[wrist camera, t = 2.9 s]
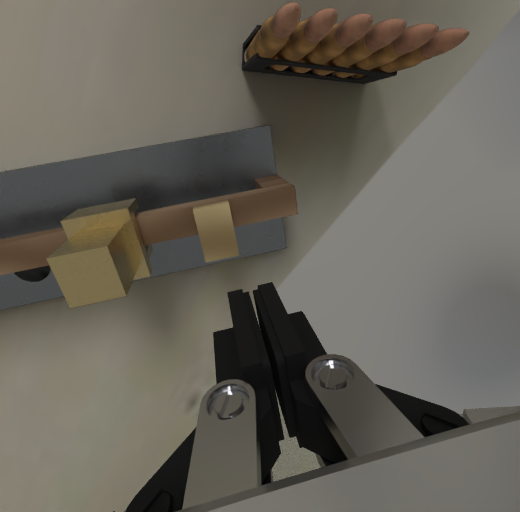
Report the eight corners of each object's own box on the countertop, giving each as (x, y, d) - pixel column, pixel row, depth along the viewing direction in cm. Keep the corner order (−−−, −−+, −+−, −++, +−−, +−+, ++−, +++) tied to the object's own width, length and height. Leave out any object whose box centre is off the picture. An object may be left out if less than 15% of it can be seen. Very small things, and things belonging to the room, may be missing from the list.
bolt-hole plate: (-118, 192, 24) (-134, 196, 23) (267, 125, 27) (270, 125, 26) (-39, 312, 28) (-49, 320, 27) (283, 243, 31) (286, 248, 30)
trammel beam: (-99, 246, 24) (-199, 288, 18) (276, 174, 27) (299, 189, 21) (-68, 291, 26) (-151, 343, 20) (282, 219, 29) (304, 245, 23)
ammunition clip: (369, 59, 26) (490, 13, 15) (365, 84, 27) (478, 57, 16) (242, 42, 24) (278, -23, 13) (241, 70, 25) (274, 29, 14)
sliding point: (94, 197, 25) (27, 244, 15) (144, 188, 25) (111, 227, 16) (115, 255, 27) (69, 328, 17) (162, 245, 28) (142, 312, 18)
